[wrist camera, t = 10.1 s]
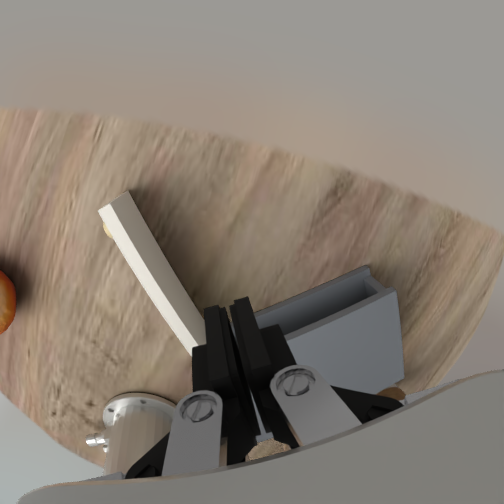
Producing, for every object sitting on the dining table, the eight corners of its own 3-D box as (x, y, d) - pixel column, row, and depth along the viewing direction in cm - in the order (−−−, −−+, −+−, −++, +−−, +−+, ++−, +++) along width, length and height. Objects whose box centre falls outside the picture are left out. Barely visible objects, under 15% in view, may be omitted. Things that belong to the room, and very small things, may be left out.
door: (210, 329, 35) (213, 366, 29) (193, 337, 35) (193, 375, 29) (127, 190, 29) (109, 203, 23) (109, 201, 29) (88, 216, 23)
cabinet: (249, 404, 41) (258, 442, 34) (207, 331, 36) (210, 370, 29) (380, 348, 41) (404, 377, 35) (365, 265, 36) (396, 290, 30)
